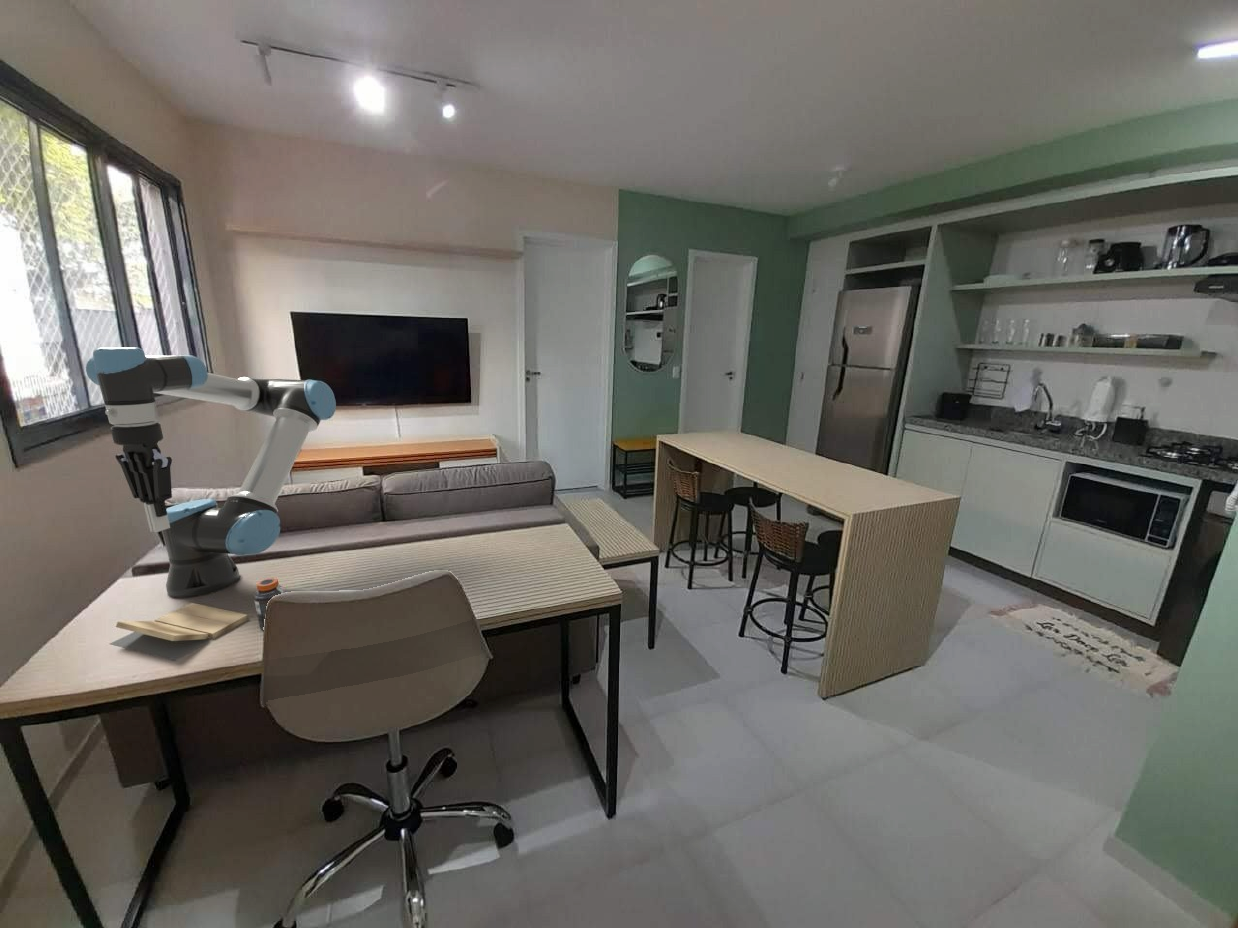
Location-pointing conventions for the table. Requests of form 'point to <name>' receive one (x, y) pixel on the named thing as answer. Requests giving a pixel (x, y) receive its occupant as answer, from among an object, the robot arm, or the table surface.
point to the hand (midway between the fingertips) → (160, 529)
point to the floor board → (203, 619)
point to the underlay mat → (162, 645)
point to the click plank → (162, 630)
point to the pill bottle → (265, 596)
